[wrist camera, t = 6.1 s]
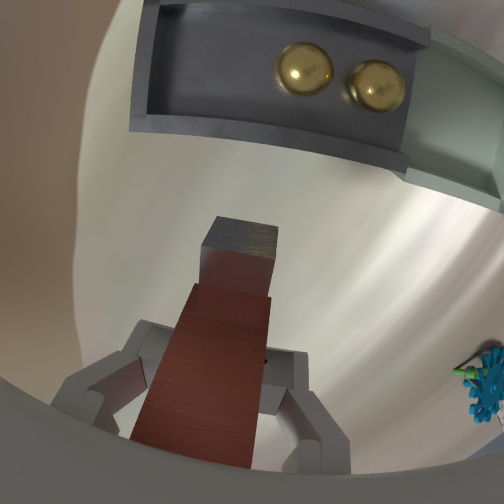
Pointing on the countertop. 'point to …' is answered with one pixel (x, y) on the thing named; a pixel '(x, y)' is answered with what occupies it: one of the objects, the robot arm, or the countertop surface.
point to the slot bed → (269, 75)
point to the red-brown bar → (216, 352)
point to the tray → (456, 122)
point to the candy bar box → (501, 412)
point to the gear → (485, 384)
